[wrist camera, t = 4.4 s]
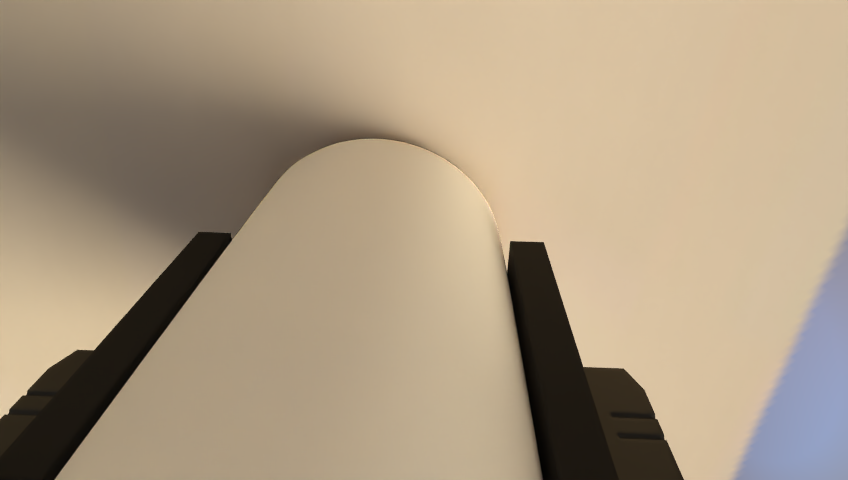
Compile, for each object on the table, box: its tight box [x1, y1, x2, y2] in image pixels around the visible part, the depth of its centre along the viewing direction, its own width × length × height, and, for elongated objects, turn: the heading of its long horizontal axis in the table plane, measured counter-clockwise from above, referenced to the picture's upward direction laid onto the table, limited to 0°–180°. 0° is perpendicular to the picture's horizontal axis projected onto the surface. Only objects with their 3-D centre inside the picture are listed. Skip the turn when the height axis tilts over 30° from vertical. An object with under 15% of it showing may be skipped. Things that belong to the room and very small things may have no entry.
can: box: [55, 139, 543, 480], centre depth 9 cm, size 6×6×12 cm
